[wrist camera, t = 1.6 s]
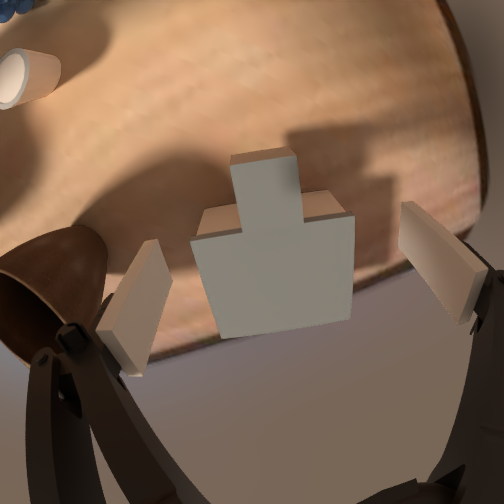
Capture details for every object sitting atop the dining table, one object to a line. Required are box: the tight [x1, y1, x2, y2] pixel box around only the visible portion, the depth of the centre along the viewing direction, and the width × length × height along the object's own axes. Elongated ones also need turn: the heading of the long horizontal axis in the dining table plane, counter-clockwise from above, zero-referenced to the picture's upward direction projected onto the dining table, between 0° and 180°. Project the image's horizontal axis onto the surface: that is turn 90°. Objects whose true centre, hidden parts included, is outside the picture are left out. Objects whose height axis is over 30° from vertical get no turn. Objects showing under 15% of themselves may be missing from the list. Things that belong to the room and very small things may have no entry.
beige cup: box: [0, 48, 62, 110], centre depth 18 cm, size 7×7×7 cm
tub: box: [196, 190, 346, 235], centre depth 31 cm, size 14×12×7 cm
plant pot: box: [0, 225, 108, 366], centre depth 27 cm, size 15×15×16 cm
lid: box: [189, 147, 355, 339], centre depth 26 cm, size 15×19×4 cm
